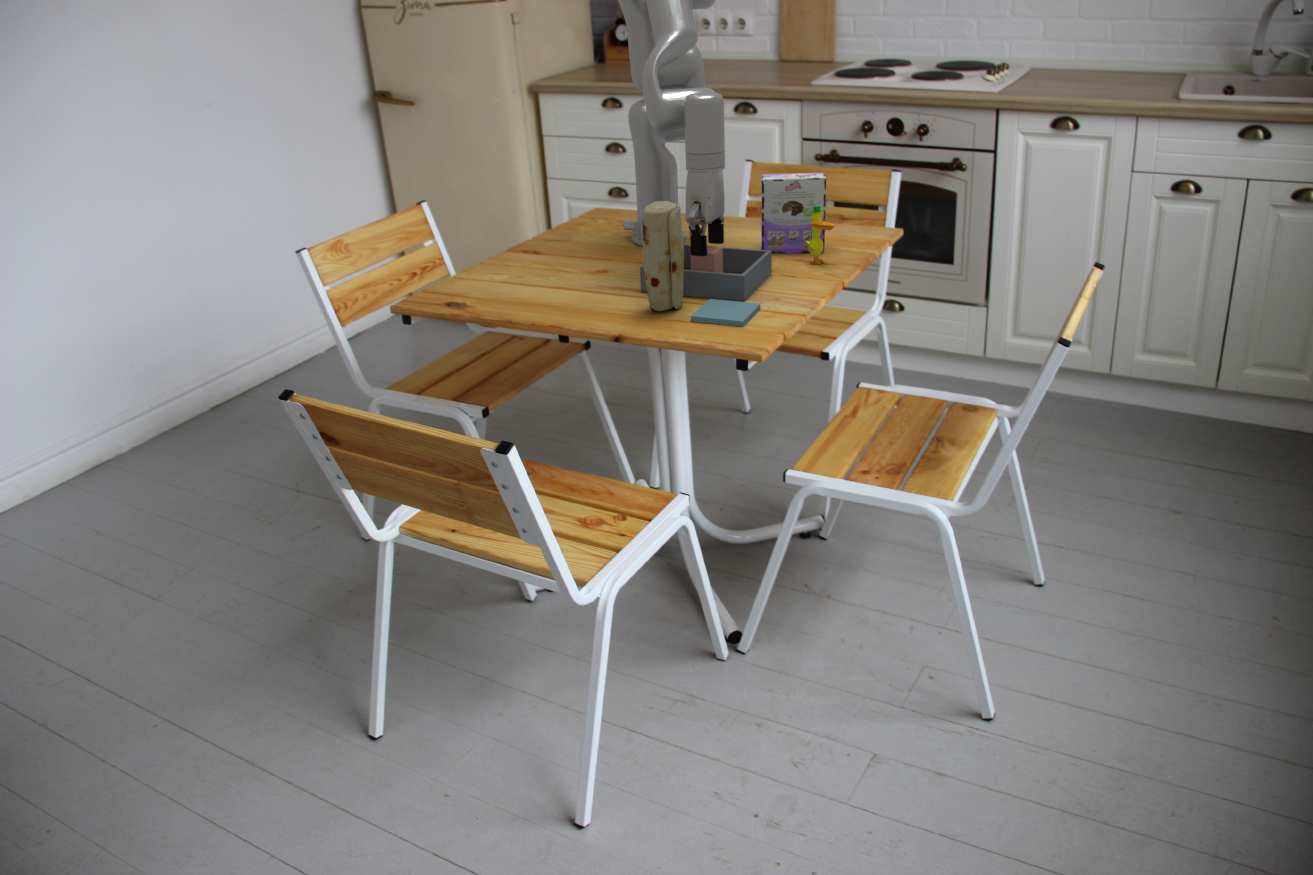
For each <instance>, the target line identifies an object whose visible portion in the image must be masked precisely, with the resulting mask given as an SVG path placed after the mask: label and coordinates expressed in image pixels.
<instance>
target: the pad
mask: <svg viewBox="0 0 1313 875" xmlns="http://www.w3.org/2000/svg"><path fill="white" fill-rule="evenodd" d="M760 309H761V303H756V302H746V301H735V300H725V299H714V298H708V300H707V301H706V302H705V303H703V305H701V306H700V307H699V308H698V309H697V310H696V311H695V312H693V314H691V315H690V321H691V322H692V323H693V322H694V323H695V322H696V323H704V324H705V323H706V324H713V325H714V324H716V325H724V326H730V327H731V326H732V327H741V328H742V327H744V326H746V325H747V324H748V322H749V321H750V320H752V318H753V317H754V316H755V315H756V314H757V313H758V312H759V311H760Z"/></svg>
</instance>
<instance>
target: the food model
mask: <svg viewBox="0 0 1313 875" xmlns="http://www.w3.org/2000/svg"><path fill="white" fill-rule="evenodd" d="M681 213H682V212H681V205H680V204H679V203H678V204H676V203H671V202H669V201H657V202H653V203H651V204H649V205H648V206H646V208H645V210H644V213H643V246H642V262H643V264H642V265H643V268H644V275H645V282H646V288H647V292H646V294H647V299H648V300H647V301H648V303H649V308H650V310H651V311H655V312H663V311H666V310H671V309H673V308H674V309H675V310H679V309H681V308H682V305H683V297H684V296H683V273H684V270H685V268H684V244H685V243H684V241H683V235H682V231H683V225H682V222H683V221H682V214H681Z"/></svg>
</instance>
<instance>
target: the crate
mask: <svg viewBox="0 0 1313 875" xmlns="http://www.w3.org/2000/svg"><path fill="white" fill-rule="evenodd" d="M722 247H723V273H718V272H707V271H695V270H691V245H690V243H689V244H688V243H687V244H686V243H684V273H683V297H685V296H686V297H693V298H694V297H696V298H706V299H707V298H708V299H717V300H727V301H737V302H746V301H747V299H748V298H749V297H751V295H752V294H754V292H756V290H757V289H759V287H760V286H761V285H763V284H764V282H766V281H767V280H768V278H769V277H770V276H771V275H772V266H773V265H772V260H773V259H772V251H770V250H761V249H756V248H755V249H753V248H741V247H728V246H727V247H726V246H722ZM639 277H640V292H645V293H647V288H646V282H645V275H644V268H643V264H642V265H641V266H639Z"/></svg>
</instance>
